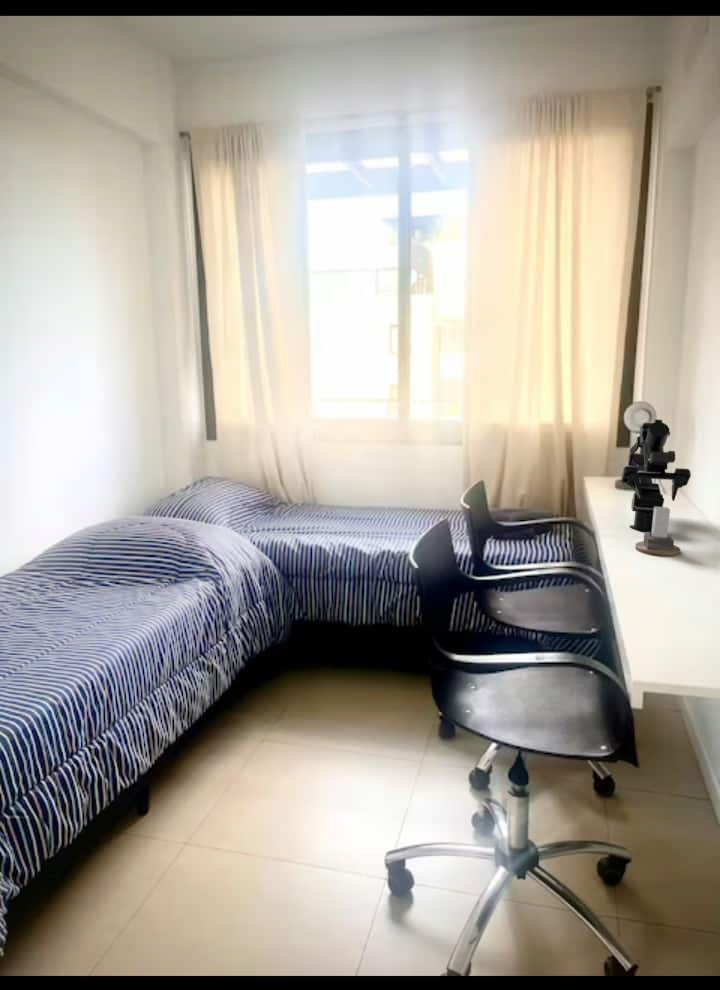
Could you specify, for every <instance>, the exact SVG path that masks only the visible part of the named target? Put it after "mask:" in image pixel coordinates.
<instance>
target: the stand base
mask: <svg viewBox="0 0 720 990" xmlns="http://www.w3.org/2000/svg"><path fill="white" fill-rule="evenodd" d="M643 534H644V535H643V541H638V542H636V543H635V550H636V551H638V552H640V553H643V554H646V555H650V556H657V557H675V556H679V555H680V553H681V547H679V546H678V545H675V541H674V539H673V537H672V536H671V534H668V533H667V539H653V538H652V537H651V532H643Z"/></svg>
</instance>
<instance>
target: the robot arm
mask: <svg viewBox="0 0 720 990" xmlns="http://www.w3.org/2000/svg"><path fill="white" fill-rule="evenodd" d="M638 435H639V436H637V437H636V442H635V443H634V444H633V445H632V447H630V449H629V453H628V459H627V465H626V466H624V467H623V470H622V473H621V483H623V484H626V486H630V488H631V489H632V490H633V491H634V492H633V494H632V495H633V496H632V499H631V503H630V504H631V505H630V508H631V509H630V510H631V511H632V512H634V513H635V514H634V521H633V522H634V523H633V524H630V525H629V528H631V529H633V530H636V531H638V532H640V533H641V532H642V533H649V532H651V531H652V522H653V513H654V507H664V503H665V498H664V496H663V494H662V493H661V489H660V485H659V483H654V482H653V480H666V481H667V480H668V481H669V480H670V481H671V482H672V485H671V500H672V501H673V502H674V501H675V499H676V496H677V494H678V490H679V488H680V489H682V488H683V487H685V486H687V485H688V484H689V481H690V479H691V477H692V476H691V475H692V473H691V470H690V469H688V468H681V467H680V468H679V467H676V468H674V469H675V470H674V472H666V471H667V470H668V468H669V467H668V465H669V463H670V464H671V463H673V464H674V462H675V461H676V452H675V451H674V450H668V451H664V450H665V449H664V446H666V443H667V439H668V437H669V436H670V435H671V431H670V428H669V426H668V425H667V424H666V423H664V422H663V419H654V422H642V425H639V434H638ZM639 448H643V453H639V452H638V453H637V451H638V450H639Z"/></svg>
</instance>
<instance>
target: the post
mask: <svg viewBox="0 0 720 990" xmlns="http://www.w3.org/2000/svg"><path fill="white" fill-rule="evenodd" d="M670 513H671V509H670V508H669V507H667V506H663V507H654V513H653V522H652V531H650V533H651V537H652V538H653V539H667V534H668V530H669V522H670Z"/></svg>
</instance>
